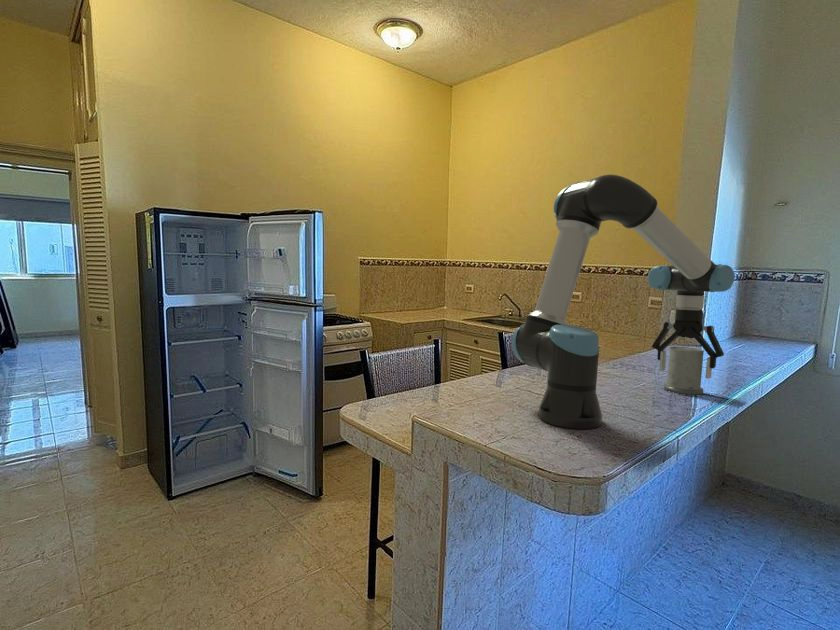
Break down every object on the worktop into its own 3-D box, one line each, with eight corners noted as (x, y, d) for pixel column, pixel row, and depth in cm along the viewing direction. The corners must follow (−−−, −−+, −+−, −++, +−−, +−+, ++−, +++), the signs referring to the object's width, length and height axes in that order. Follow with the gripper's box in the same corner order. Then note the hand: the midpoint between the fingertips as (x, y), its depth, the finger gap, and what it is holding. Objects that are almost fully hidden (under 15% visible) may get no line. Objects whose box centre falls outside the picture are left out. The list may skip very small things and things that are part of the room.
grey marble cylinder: (699, 391, 135) (702, 352, 134) (664, 386, 141) (667, 348, 140) (701, 386, 143) (705, 349, 142) (668, 381, 149) (671, 345, 148)
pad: (663, 392, 140) (663, 387, 140) (664, 385, 150) (664, 380, 150) (703, 397, 135) (704, 392, 135) (702, 390, 144) (702, 385, 144)
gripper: (739, 311, 133) (733, 380, 134) (653, 306, 152) (649, 366, 154) (731, 312, 128) (725, 383, 130) (644, 306, 147) (639, 368, 149)
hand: (684, 374), depth 142 cm, fingers open, 13 cm apart
